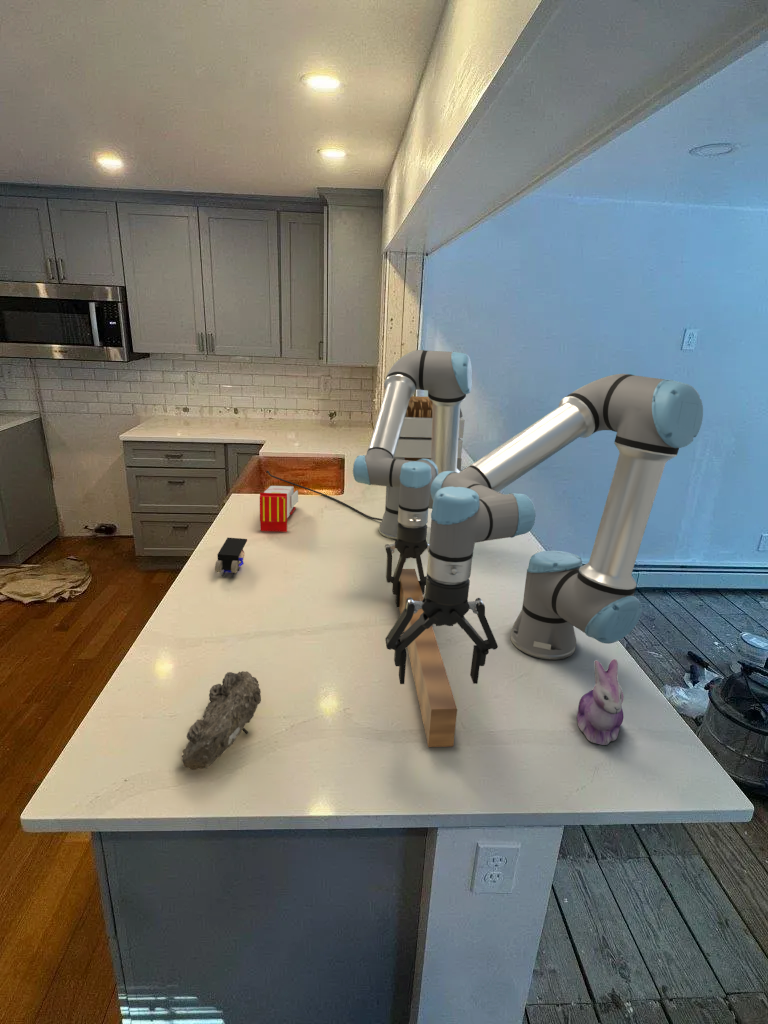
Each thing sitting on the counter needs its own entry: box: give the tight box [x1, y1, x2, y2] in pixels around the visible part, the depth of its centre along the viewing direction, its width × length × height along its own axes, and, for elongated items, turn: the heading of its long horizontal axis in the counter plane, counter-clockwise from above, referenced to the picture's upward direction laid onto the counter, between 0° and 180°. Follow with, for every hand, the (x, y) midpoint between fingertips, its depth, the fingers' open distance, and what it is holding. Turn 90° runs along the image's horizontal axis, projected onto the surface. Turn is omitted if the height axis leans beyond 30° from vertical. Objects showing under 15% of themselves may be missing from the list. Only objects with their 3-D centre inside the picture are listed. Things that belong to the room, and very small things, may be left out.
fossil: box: [181, 670, 262, 771], centre depth 103 cm, size 22×10×15 cm
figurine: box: [576, 658, 625, 746], centre depth 107 cm, size 9×10×15 cm
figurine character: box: [214, 537, 248, 578], centre depth 166 cm, size 7×8×15 cm
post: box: [398, 568, 458, 748], centre depth 129 cm, size 57×5×8 cm, turn 5°
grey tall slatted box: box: [394, 395, 465, 472], centre depth 268 cm, size 34×33×41 cm
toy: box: [259, 485, 299, 533], centre depth 208 cm, size 12×13×30 cm
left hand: (407, 604), depth 151 cm, fingers closed on post, 5 cm apart
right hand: (437, 679), depth 105 cm, fingers open, 13 cm apart
